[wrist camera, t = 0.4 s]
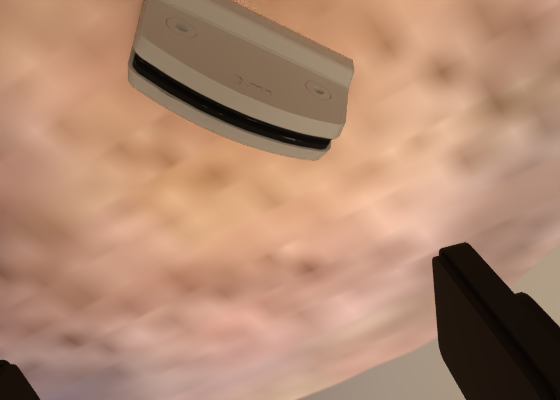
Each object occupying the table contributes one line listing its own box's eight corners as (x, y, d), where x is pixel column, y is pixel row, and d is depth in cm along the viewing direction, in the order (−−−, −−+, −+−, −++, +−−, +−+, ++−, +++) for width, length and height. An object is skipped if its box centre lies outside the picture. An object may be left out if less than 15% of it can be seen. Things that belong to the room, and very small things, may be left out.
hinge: (356, 62, 38) (370, 135, 31) (327, 106, 41) (333, 182, 34) (157, -37, 33) (117, 23, 26) (140, 22, 36) (101, 90, 29)
